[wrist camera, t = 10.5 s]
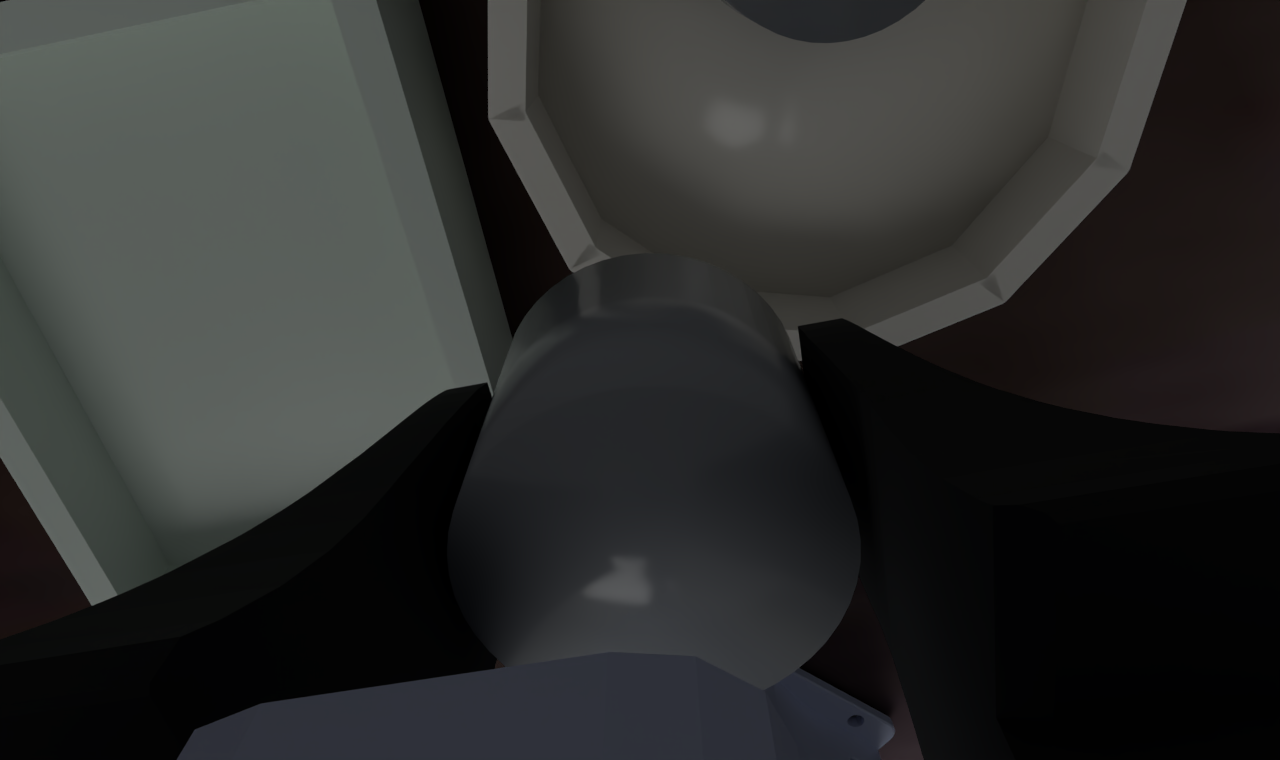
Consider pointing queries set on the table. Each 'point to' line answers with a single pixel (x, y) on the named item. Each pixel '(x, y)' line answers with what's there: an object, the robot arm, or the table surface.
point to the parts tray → (222, 263)
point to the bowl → (827, 143)
